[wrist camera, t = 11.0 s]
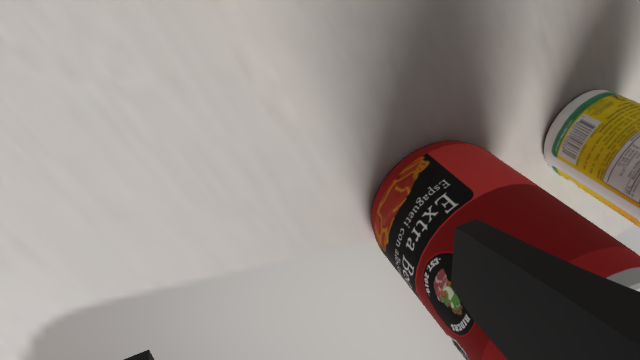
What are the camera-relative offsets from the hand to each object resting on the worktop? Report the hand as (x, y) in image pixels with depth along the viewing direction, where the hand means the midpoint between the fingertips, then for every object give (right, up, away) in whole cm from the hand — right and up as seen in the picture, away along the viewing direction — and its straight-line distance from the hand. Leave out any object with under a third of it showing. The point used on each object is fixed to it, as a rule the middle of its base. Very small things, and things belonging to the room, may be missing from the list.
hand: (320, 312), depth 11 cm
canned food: (+6, +2, +15) cm, 17 cm away
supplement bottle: (+15, +6, +17) cm, 24 cm away
